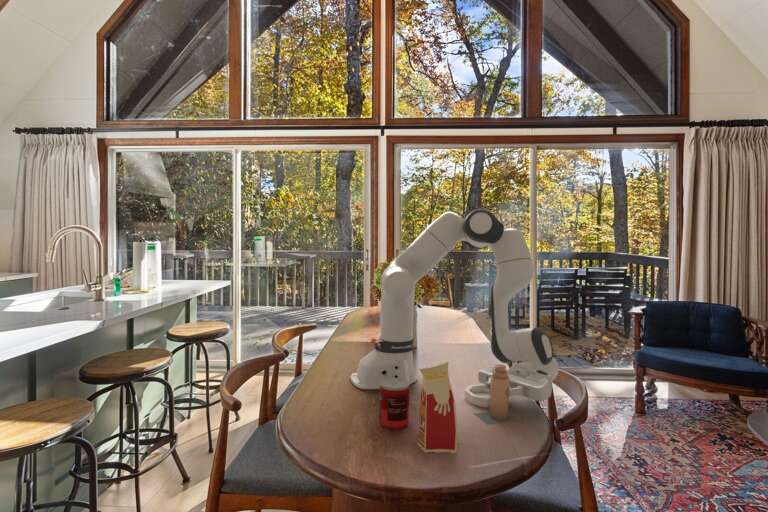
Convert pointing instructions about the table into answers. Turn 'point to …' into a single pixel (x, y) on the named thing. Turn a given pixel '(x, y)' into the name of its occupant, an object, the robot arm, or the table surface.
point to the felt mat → (488, 420)
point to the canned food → (394, 403)
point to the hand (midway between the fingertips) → (497, 389)
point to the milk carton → (437, 411)
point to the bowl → (478, 395)
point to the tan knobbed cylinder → (499, 393)
